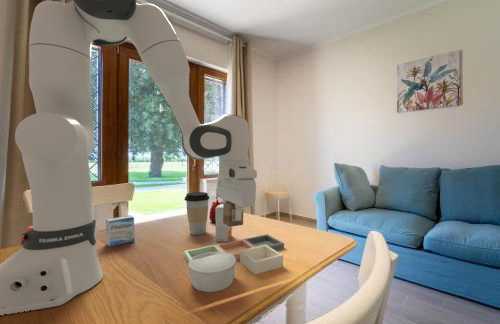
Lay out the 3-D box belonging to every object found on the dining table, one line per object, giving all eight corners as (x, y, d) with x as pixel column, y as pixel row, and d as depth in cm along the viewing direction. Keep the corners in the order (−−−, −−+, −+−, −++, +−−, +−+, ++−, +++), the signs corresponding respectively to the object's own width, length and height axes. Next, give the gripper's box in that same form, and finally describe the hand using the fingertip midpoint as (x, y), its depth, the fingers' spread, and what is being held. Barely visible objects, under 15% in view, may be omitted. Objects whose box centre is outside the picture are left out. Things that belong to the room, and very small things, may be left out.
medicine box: (109, 247, 78) (108, 221, 78) (106, 244, 81) (105, 218, 81) (135, 241, 83) (134, 216, 83) (131, 238, 87) (130, 214, 86)
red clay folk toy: (227, 219, 110) (227, 187, 109) (224, 224, 103) (224, 189, 102) (211, 219, 110) (210, 187, 110) (207, 223, 103) (206, 189, 103)
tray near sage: (193, 271, 61) (192, 264, 61) (184, 257, 70) (184, 250, 70) (227, 263, 66) (227, 256, 66) (215, 251, 74) (215, 244, 74)
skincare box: (227, 242, 81) (226, 207, 80) (215, 242, 82) (214, 207, 81) (232, 236, 87) (231, 203, 86) (221, 236, 88) (220, 203, 87)
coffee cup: (215, 231, 93) (214, 192, 93) (197, 238, 86) (197, 196, 85) (197, 227, 99) (196, 191, 98) (179, 233, 91) (178, 194, 90)
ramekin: (216, 266, 64) (216, 247, 64) (246, 281, 56) (246, 259, 56) (179, 283, 56) (178, 261, 56) (207, 303, 48) (207, 278, 48)
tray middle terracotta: (227, 263, 66) (227, 256, 66) (215, 251, 74) (215, 244, 74) (257, 255, 70) (257, 249, 70) (242, 245, 79) (242, 239, 79)
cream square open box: (255, 276, 58) (254, 262, 58) (239, 263, 66) (239, 250, 66) (283, 268, 62) (282, 255, 62) (265, 256, 70) (265, 244, 70)
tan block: (229, 226, 68) (229, 205, 68) (223, 222, 72) (223, 202, 72) (243, 224, 71) (243, 204, 70) (236, 221, 75) (237, 201, 74)
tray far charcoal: (257, 256, 70) (257, 249, 70) (242, 245, 79) (242, 239, 79) (284, 249, 75) (283, 243, 75) (267, 239, 83) (267, 234, 83)
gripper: (212, 168, 79) (211, 210, 79) (239, 172, 61) (238, 226, 61) (229, 168, 82) (229, 208, 82) (260, 172, 64) (259, 224, 64)
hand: (233, 216), depth 71 cm, fingers closed on tan block, 5 cm apart
